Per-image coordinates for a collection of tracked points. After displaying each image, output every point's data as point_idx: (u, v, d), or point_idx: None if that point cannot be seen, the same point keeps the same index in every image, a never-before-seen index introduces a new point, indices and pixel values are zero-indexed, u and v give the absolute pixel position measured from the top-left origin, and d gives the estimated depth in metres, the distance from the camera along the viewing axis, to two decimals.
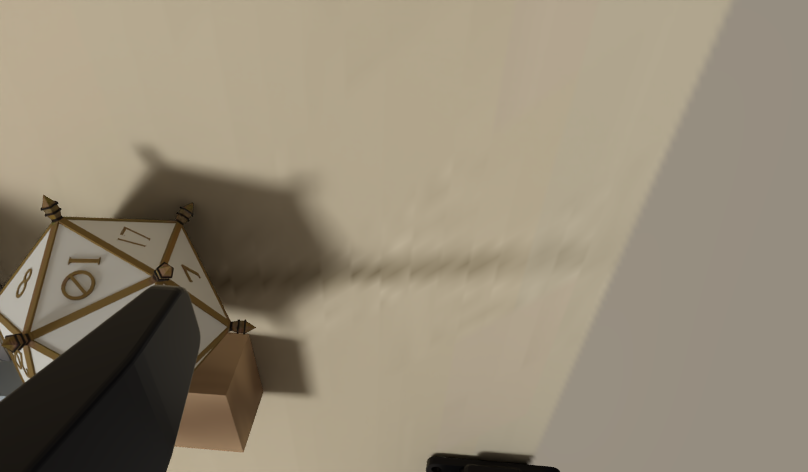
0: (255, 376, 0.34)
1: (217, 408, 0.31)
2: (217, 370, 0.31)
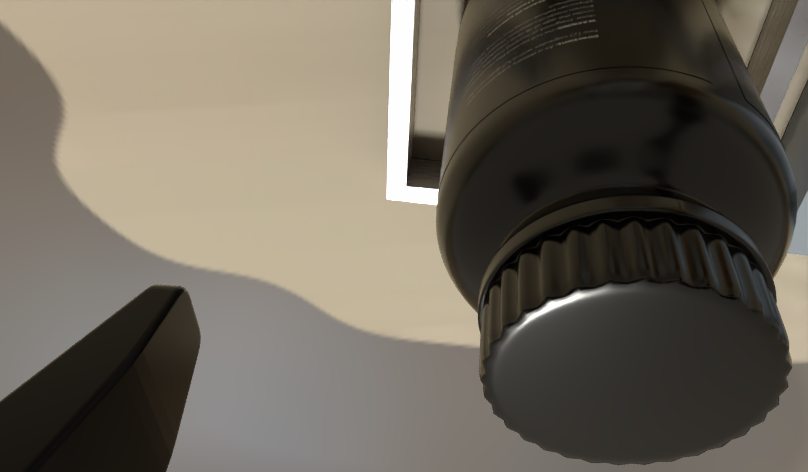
0: None
1: None
2: None
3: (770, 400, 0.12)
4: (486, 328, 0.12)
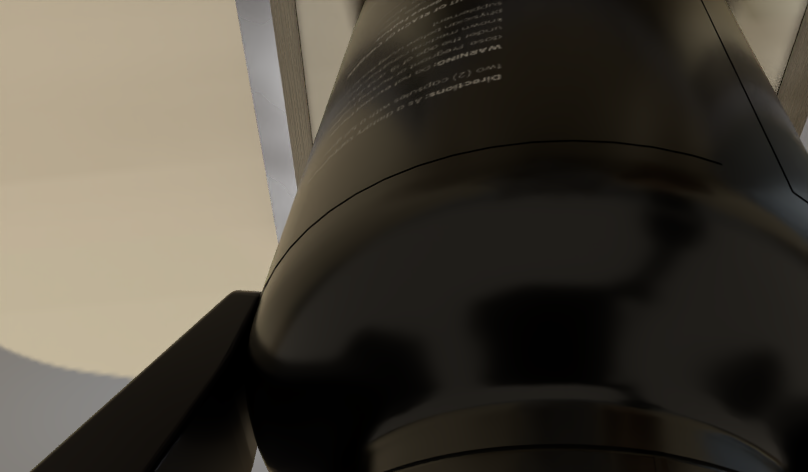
0: None
1: None
2: None
3: None
4: None
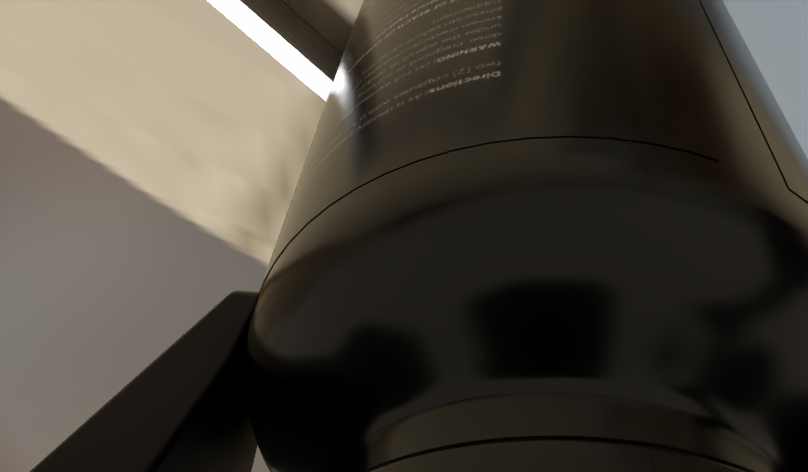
0: None
1: None
2: None
3: None
4: None
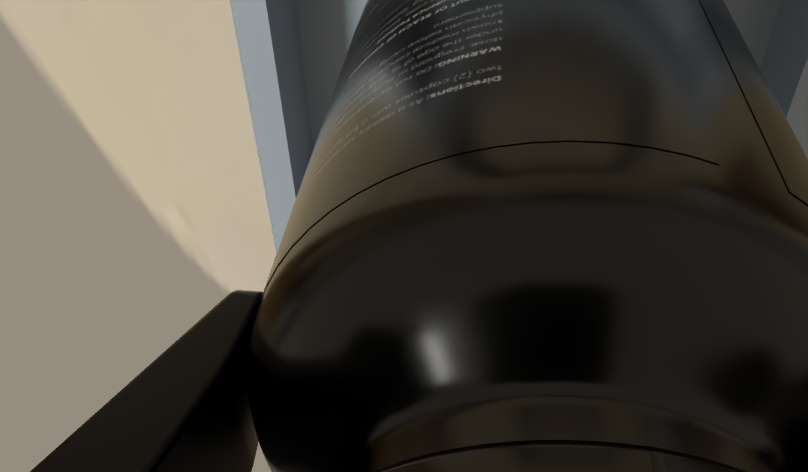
0: None
1: None
2: None
3: None
4: None
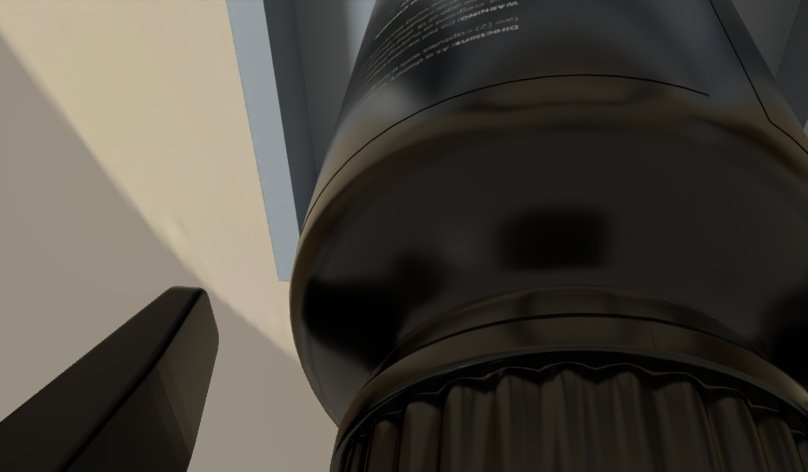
0: None
1: None
2: None
3: None
4: None
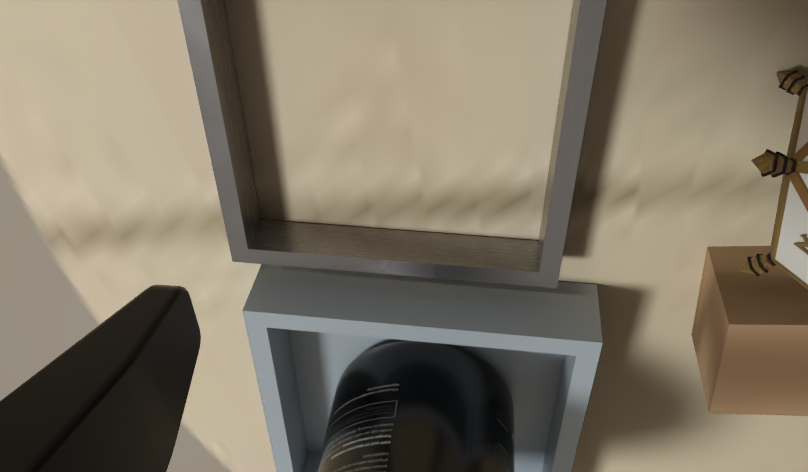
0: None
1: None
2: None
3: None
4: None
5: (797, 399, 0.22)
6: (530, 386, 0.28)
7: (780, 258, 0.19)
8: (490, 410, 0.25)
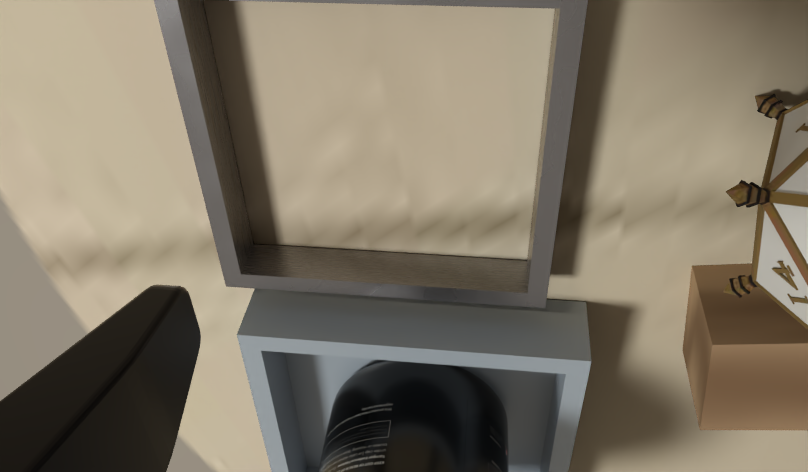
0: None
1: None
2: None
3: None
4: None
5: (785, 414, 0.23)
6: (523, 401, 0.28)
7: (760, 280, 0.19)
8: (482, 427, 0.25)
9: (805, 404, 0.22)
